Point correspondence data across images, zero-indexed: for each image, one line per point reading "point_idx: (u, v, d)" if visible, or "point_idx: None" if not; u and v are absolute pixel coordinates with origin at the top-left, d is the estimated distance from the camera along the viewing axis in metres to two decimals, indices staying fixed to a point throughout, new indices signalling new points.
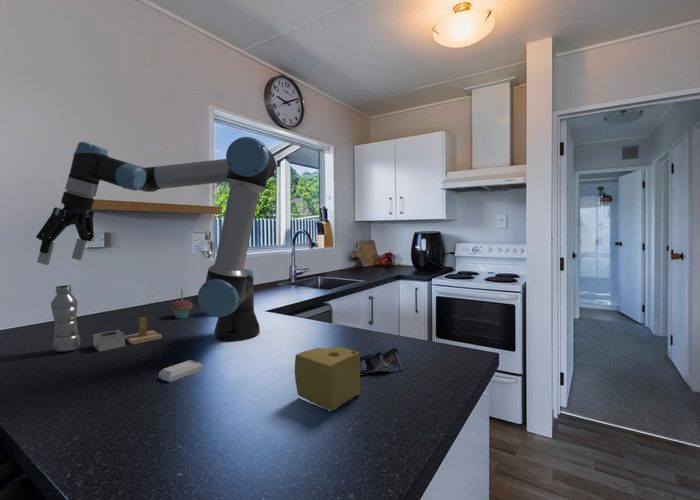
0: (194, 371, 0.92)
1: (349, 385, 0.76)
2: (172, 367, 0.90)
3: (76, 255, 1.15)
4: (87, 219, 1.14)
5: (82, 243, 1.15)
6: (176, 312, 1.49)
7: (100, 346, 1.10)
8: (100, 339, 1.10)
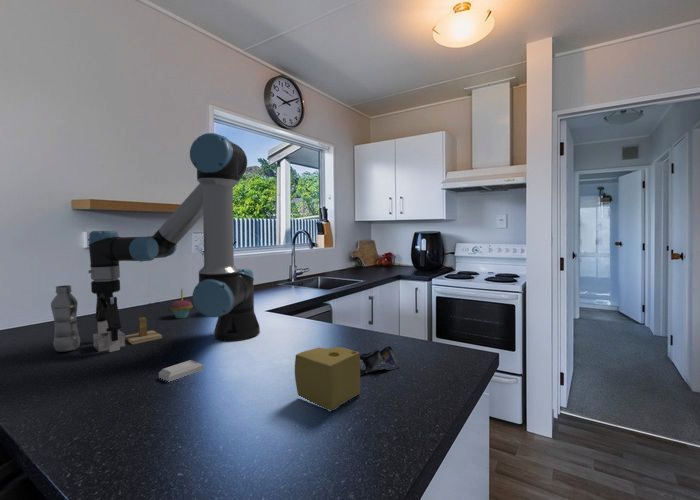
0: (194, 371, 0.92)
1: (349, 385, 0.76)
2: (172, 367, 0.90)
3: None
4: None
5: (105, 324, 1.19)
6: (176, 312, 1.49)
7: (100, 346, 1.10)
8: (100, 339, 1.10)
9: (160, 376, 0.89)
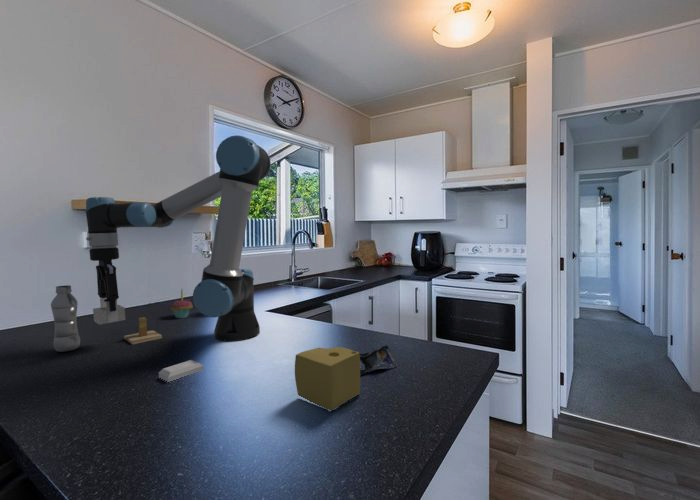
0: (194, 371, 0.92)
1: (349, 385, 0.76)
2: (172, 367, 0.90)
3: None
4: None
5: None
6: (176, 312, 1.49)
7: (100, 319, 1.09)
8: (100, 312, 1.09)
9: (160, 376, 0.89)
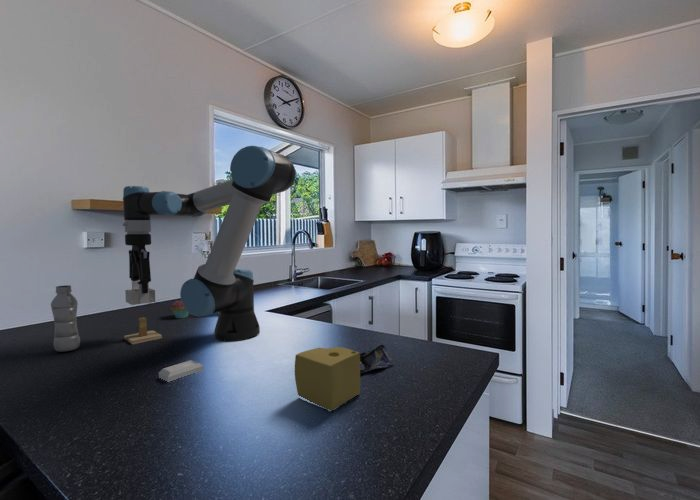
0: (194, 371, 0.92)
1: (349, 385, 0.76)
2: (172, 367, 0.90)
3: None
4: None
5: (138, 283, 1.24)
6: (176, 312, 1.49)
7: (133, 300, 1.17)
8: (133, 293, 1.17)
9: (160, 376, 0.89)
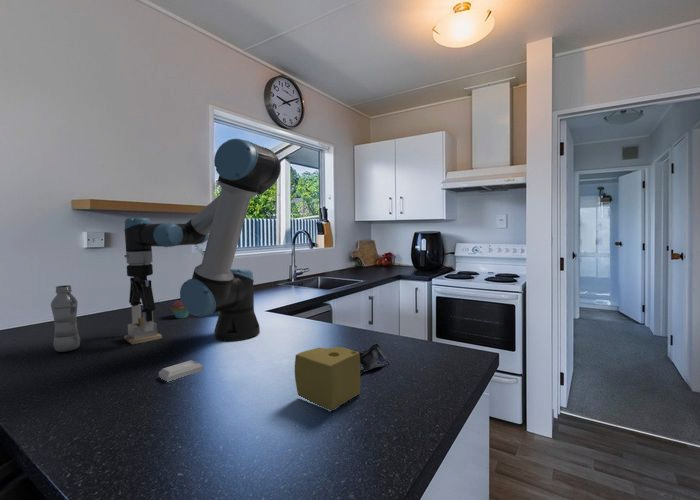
0: (193, 372, 0.91)
1: (349, 385, 0.76)
2: (172, 367, 0.90)
3: (136, 320, 1.26)
4: None
5: (138, 308, 1.26)
6: (176, 312, 1.49)
7: (135, 335, 1.17)
8: (135, 328, 1.17)
9: (160, 376, 0.89)
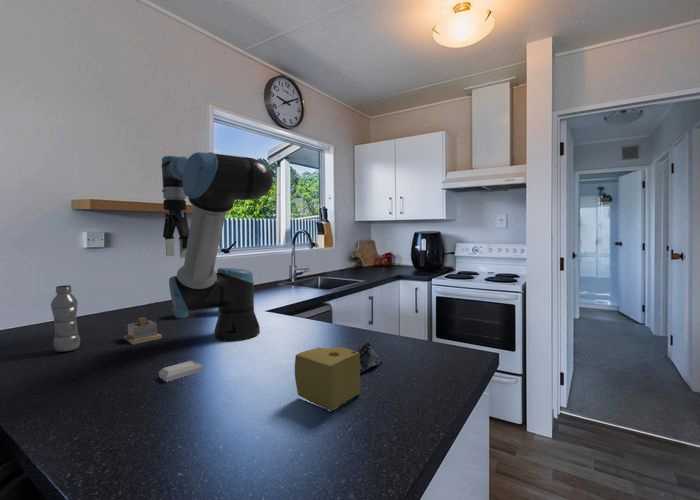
0: (193, 372, 0.91)
1: (349, 385, 0.76)
2: (172, 367, 0.91)
3: (169, 252, 1.38)
4: None
5: (171, 241, 1.39)
6: (176, 312, 1.49)
7: (135, 335, 1.17)
8: (135, 328, 1.17)
9: (160, 375, 0.89)
